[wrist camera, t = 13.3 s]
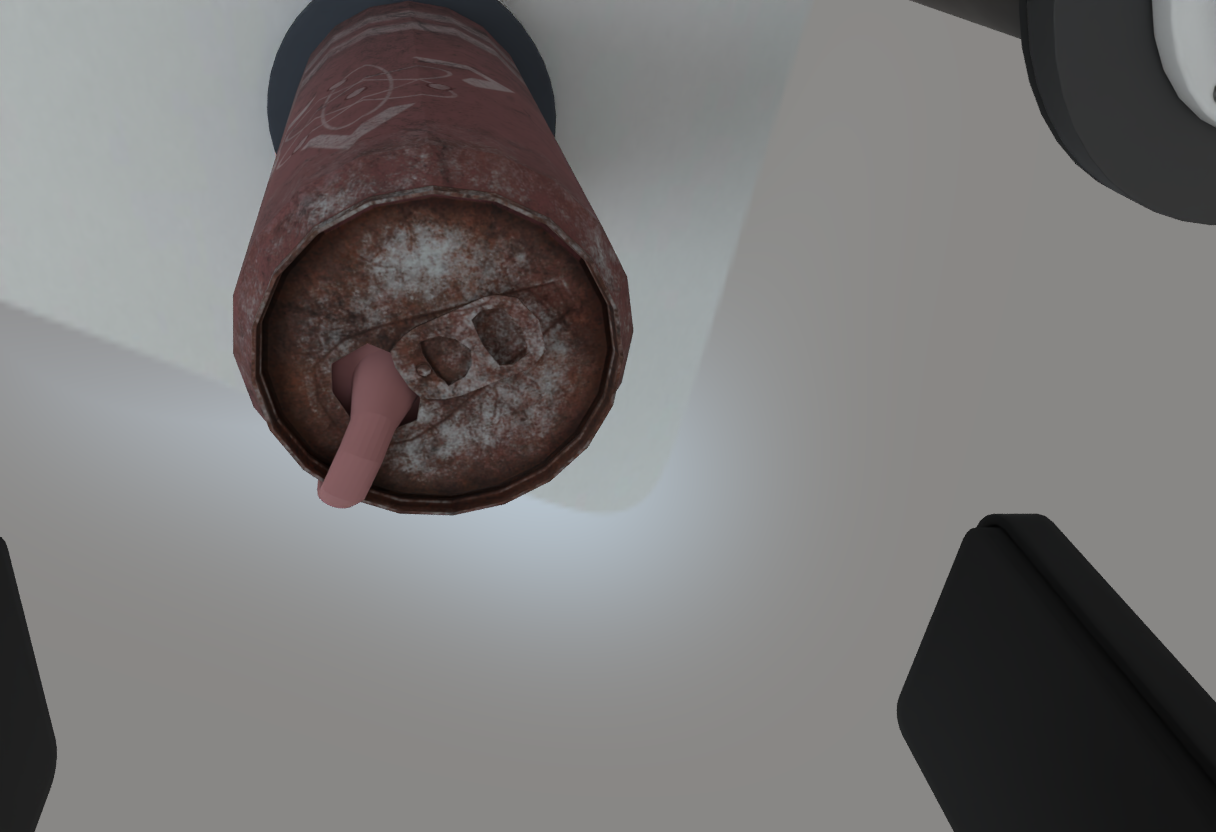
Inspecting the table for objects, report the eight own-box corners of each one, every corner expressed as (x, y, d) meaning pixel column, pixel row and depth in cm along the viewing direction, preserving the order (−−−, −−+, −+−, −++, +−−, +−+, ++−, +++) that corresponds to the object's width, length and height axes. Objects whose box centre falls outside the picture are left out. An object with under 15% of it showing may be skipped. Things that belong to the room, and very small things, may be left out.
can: (259, 179, 26) (157, 481, 14) (351, -50, 23) (322, 85, 12) (465, 270, 28) (523, 589, 16) (568, 71, 26) (721, 281, 14)
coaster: (566, -17, 25) (570, -14, 25) (540, 254, 29) (542, 261, 28) (261, -52, 23) (258, -49, 23) (276, 242, 27) (274, 250, 27)
